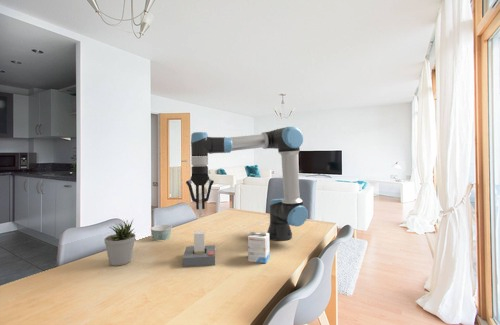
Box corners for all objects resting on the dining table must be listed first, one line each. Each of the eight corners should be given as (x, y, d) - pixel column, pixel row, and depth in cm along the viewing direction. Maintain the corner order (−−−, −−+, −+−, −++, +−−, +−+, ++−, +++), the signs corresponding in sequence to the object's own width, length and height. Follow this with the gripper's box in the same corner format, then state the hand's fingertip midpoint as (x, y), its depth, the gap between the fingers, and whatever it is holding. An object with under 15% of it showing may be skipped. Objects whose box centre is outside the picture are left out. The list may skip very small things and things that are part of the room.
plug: (204, 255, 118) (204, 230, 118) (204, 259, 114) (204, 233, 114) (194, 256, 118) (194, 231, 118) (194, 260, 113) (194, 234, 113)
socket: (214, 253, 124) (214, 244, 124) (215, 265, 110) (215, 254, 110) (186, 254, 122) (186, 245, 122) (182, 267, 108) (182, 256, 108)
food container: (155, 243, 139) (155, 231, 139) (147, 238, 148) (147, 227, 148) (175, 238, 147) (175, 227, 147) (167, 234, 156) (167, 223, 156)
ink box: (270, 256, 120) (270, 229, 120) (265, 263, 112) (265, 234, 112) (253, 254, 123) (253, 227, 122) (247, 261, 115) (247, 232, 114)
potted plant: (103, 271, 104) (103, 224, 104) (105, 259, 116) (105, 217, 116) (136, 265, 110) (136, 220, 110) (134, 255, 122) (134, 214, 122)
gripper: (213, 165, 120) (214, 213, 121) (186, 165, 118) (187, 215, 119) (214, 165, 113) (214, 217, 113) (184, 166, 111) (185, 218, 111)
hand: (200, 216), depth 116 cm, fingers closed
